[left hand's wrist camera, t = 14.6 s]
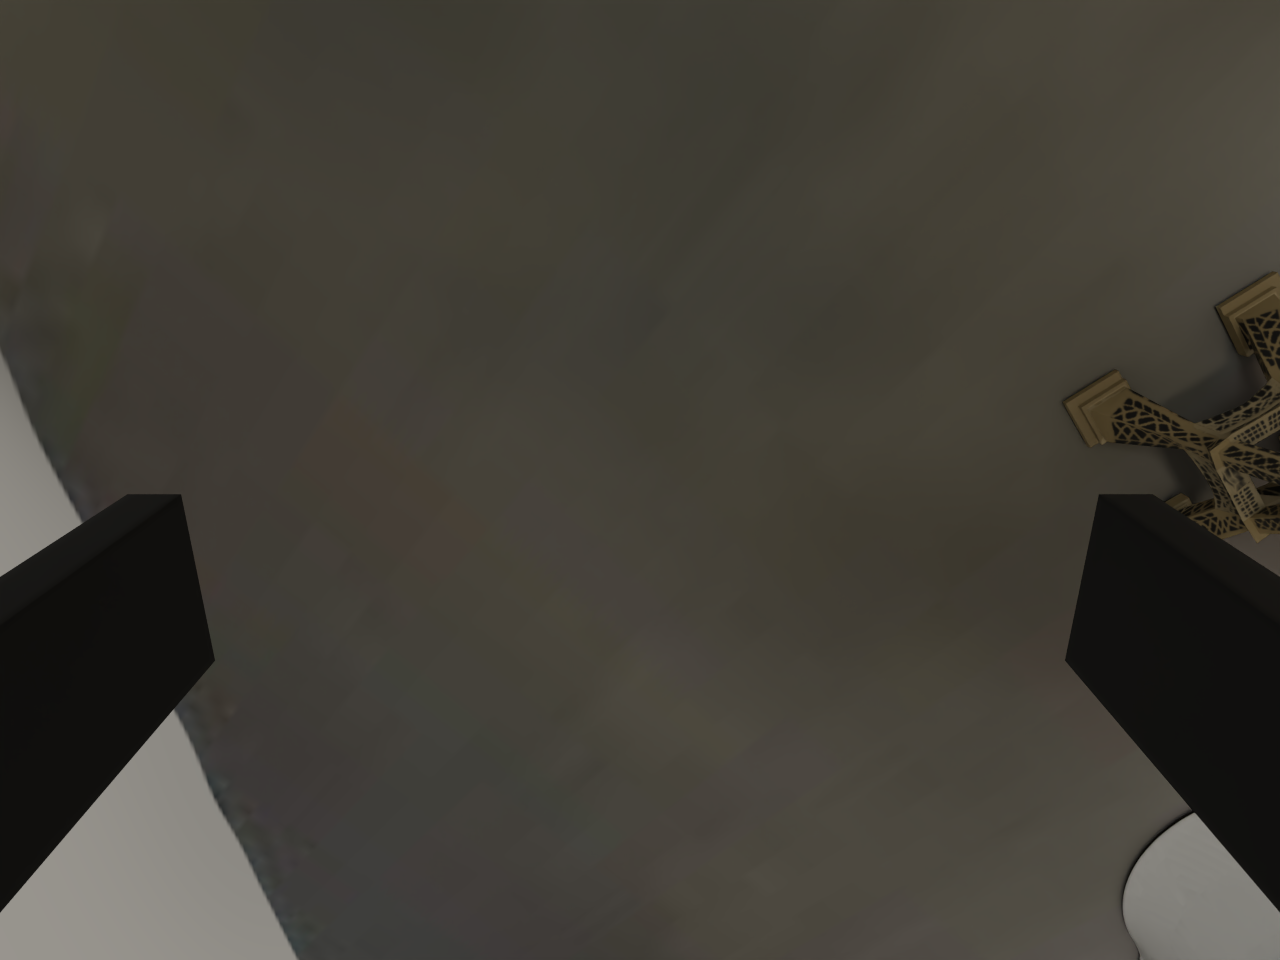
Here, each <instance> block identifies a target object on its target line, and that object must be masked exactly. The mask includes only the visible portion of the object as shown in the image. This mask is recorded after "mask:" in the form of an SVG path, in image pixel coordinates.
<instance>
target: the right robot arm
mask: <svg viewBox="0 0 1280 960" xmlns="http://www.w3.org/2000/svg"><path fill="white" fill-rule="evenodd" d="M1123 917H1124V921H1125V925H1126V928H1127V930H1128V932H1129V934H1130V936H1131V938H1132V939H1133V941H1134V943H1135V944H1136V946H1137V948H1138V950H1139V954H1140V960H1280V912H1279V911H1278V910H1277V909H1276V907H1275V906H1274V905H1273V904H1272V903H1271V902H1270V900H1269V899H1268V898H1267V897H1266V896H1265V895H1264V893H1263V892H1262V891H1261V890H1260V889H1259V888H1258V886H1257V885H1256V884H1255V883H1254V882H1253V880H1252V879H1251V878H1250V877H1249V876H1248V875H1247V873H1246V872H1245V871H1244V870H1243V869H1242V868H1241V866H1240V865H1239V864H1238V863H1237V862H1236V861H1235V859H1234V858H1233V857H1232V856H1231V855H1230V853H1229V852H1228V851H1227V850H1226V849H1225V848H1224V846H1223V845H1222V844H1221V843H1220V842H1219V841H1218V839H1217V838H1216V837H1215V836H1214V835H1213V834H1212V832H1211V831H1210V830H1209V829H1208V828H1207V827H1206V825H1205V824H1204V823H1203V822H1202V821H1201V819H1200V818H1199V817H1198V816H1197V815H1196V814H1195V813H1193V814H1191V815H1189V816H1187V817H1185V818H1184V819H1182V820H1181V821H1179V822H1177V823H1176V824H1175V825H1173V826H1172V827H1170V828H1169V829H1168V830H1167V831H1165V832H1164V833H1163V834H1162V835H1161V836H1159V837H1158V838H1157V839H1156V840H1155V841H1154V842H1153V843H1152V844H1151V845H1150V846H1149V847H1148V848H1147V850H1146V851H1145V852H1144V853H1143V854H1142V856H1141V857H1140V858H1139V860H1138V861H1137V863H1136V864H1135V866H1134V868H1133V870H1132V872H1131V874H1130V876H1129V878H1128V881H1127V883H1126V887H1125V890H1124V895H1123Z"/></svg>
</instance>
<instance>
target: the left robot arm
mask: <svg viewBox="0 0 1280 960" xmlns="http://www.w3.org/2000/svg"><path fill="white" fill-rule="evenodd" d="M214 661H215V658H214V654H213V649H212V644H211V639H210V634H209V629H208V624H207V619H206V614H205V610H204V605H203V600H202V595H201V590H200V585H199V580H198V575H197V570H196V565H195V561H194V556H193V551H192V546H191V541H190V536H189V531H188V526H187V521H186V517H185V512H184V507H183V502H182V497H181V494H127V495H126V496H124V497H123V498H121V499H120V500H118V501H117V502H115V503H113V504H112V505H110V506H109V507H107V508H106V509H104V510H103V511H101V512H100V513H98V514H96V515H95V516H93V517H92V518H90V519H89V520H87V521H86V522H84V523H83V524H81V525H80V526H78V527H76V528H75V529H73V530H72V531H70V532H69V533H67V534H66V535H64V536H63V537H61V538H60V539H58V540H56V541H55V542H53V543H52V544H50V545H49V546H47V547H46V548H44V549H43V550H41V551H40V552H38V553H37V554H35V555H33V556H32V557H30V558H29V559H27V560H26V561H24V562H23V563H21V564H19V565H18V566H16V567H15V568H13V569H12V570H10V571H9V572H7V573H6V574H4V575H2V576H1V577H0V912H1V911H2V910H3V909H4V907H5V906H6V905H7V904H8V903H9V902H10V900H11V899H12V898H13V897H14V896H15V895H16V893H17V892H18V891H19V890H20V889H21V888H22V886H23V885H24V884H25V883H26V882H27V880H28V879H29V878H30V877H31V876H32V875H33V873H34V872H35V871H36V870H37V869H38V868H39V866H40V865H41V864H42V863H43V862H44V861H45V859H46V858H47V857H48V856H49V855H50V853H51V852H52V851H53V850H54V849H55V848H56V846H57V845H58V844H59V843H60V842H61V841H62V839H63V838H64V837H65V836H66V835H67V834H68V832H69V831H70V830H71V829H72V828H73V827H74V825H75V824H76V823H77V822H78V821H79V819H80V818H81V817H82V816H83V815H84V814H85V812H86V811H87V810H88V809H89V808H90V807H91V805H92V804H93V803H94V802H95V801H96V799H97V798H98V797H99V796H100V795H101V794H102V792H103V791H104V790H105V789H106V788H107V787H108V785H109V784H110V783H111V782H112V781H113V780H114V778H115V777H116V776H117V775H118V774H119V773H120V771H121V770H122V769H123V768H124V767H125V765H126V764H127V763H128V762H129V761H130V760H131V758H132V757H133V756H134V755H135V754H136V753H137V751H138V750H139V749H140V748H141V747H142V746H143V744H144V743H145V742H146V741H147V740H148V738H149V737H150V736H151V735H152V734H153V733H154V731H155V730H156V729H157V728H158V727H159V726H160V724H161V723H162V722H163V721H164V720H165V719H166V717H167V716H168V715H169V714H170V713H171V712H172V710H173V709H174V708H175V707H176V706H177V704H178V703H179V702H180V701H181V700H182V699H183V697H184V696H185V695H186V694H187V693H188V692H189V690H190V689H191V688H192V687H193V686H194V685H195V683H196V682H197V681H198V680H199V679H200V677H201V676H202V675H203V674H204V673H205V672H206V670H207V669H208V668H209V667H210V666H211V665H212V663H213V662H214ZM1065 661H1066V662H1067V663H1068V665H1069V666H1070V667H1071V668H1072V669H1073V670H1074V672H1075V673H1076V674H1077V675H1078V676H1079V677H1080V679H1081V680H1082V681H1083V682H1084V683H1085V685H1086V686H1087V687H1088V688H1089V689H1090V690H1091V692H1092V693H1093V694H1094V695H1095V696H1096V697H1097V699H1098V700H1099V701H1100V702H1101V703H1102V704H1103V706H1104V707H1105V708H1106V709H1107V710H1108V712H1109V713H1110V714H1111V715H1112V716H1113V717H1114V719H1115V720H1116V721H1117V722H1118V723H1119V724H1120V726H1121V727H1122V728H1123V729H1124V730H1125V731H1126V733H1127V734H1128V735H1129V736H1130V737H1131V739H1132V740H1133V741H1134V742H1135V743H1136V744H1137V746H1138V747H1139V748H1140V749H1141V750H1142V751H1143V753H1144V754H1145V755H1146V756H1147V757H1148V758H1149V760H1150V761H1151V762H1152V763H1153V764H1154V765H1155V767H1156V768H1157V769H1158V770H1159V771H1160V773H1161V774H1162V775H1163V776H1164V777H1165V778H1166V780H1167V781H1168V782H1169V783H1170V784H1171V785H1172V787H1173V788H1174V789H1175V790H1176V791H1177V792H1178V794H1179V795H1180V796H1181V797H1182V798H1183V800H1184V801H1185V802H1186V803H1187V804H1188V805H1189V807H1190V808H1191V809H1192V810H1193V811H1194V812H1195V814H1196V815H1197V816H1198V817H1199V818H1200V819H1201V821H1202V822H1203V823H1204V824H1205V825H1206V827H1207V828H1208V829H1209V830H1210V831H1211V832H1212V834H1213V835H1214V836H1215V837H1216V838H1217V839H1218V841H1219V842H1220V843H1221V844H1222V845H1223V846H1224V848H1225V849H1226V850H1227V851H1228V852H1229V853H1230V855H1231V856H1232V857H1233V858H1234V859H1235V861H1236V862H1237V863H1238V864H1239V865H1240V866H1241V868H1242V869H1243V870H1244V871H1245V872H1246V873H1247V875H1248V876H1249V877H1250V878H1251V879H1252V880H1253V882H1254V883H1255V884H1256V885H1257V886H1258V888H1259V889H1260V890H1261V891H1262V892H1263V893H1264V895H1265V896H1266V897H1267V898H1268V899H1269V900H1270V902H1271V903H1272V904H1273V905H1274V906H1275V907H1276V909H1277V910H1278V911H1279V912H1280V577H1279V576H1278V575H1276V574H1274V573H1273V572H1271V571H1270V570H1268V569H1267V568H1265V567H1264V566H1262V565H1261V564H1259V563H1257V562H1256V561H1254V560H1253V559H1251V558H1250V557H1248V556H1247V555H1245V554H1244V553H1242V552H1241V551H1239V550H1237V549H1236V548H1234V547H1233V546H1231V545H1230V544H1228V543H1227V542H1225V541H1224V540H1222V539H1221V538H1219V537H1217V536H1216V535H1214V534H1213V533H1211V532H1210V531H1208V530H1207V529H1205V528H1204V527H1202V526H1200V525H1199V524H1197V523H1196V522H1194V521H1193V520H1191V519H1190V518H1188V517H1187V516H1185V515H1184V514H1182V513H1180V512H1179V511H1177V510H1176V509H1174V508H1173V507H1171V506H1170V505H1168V504H1167V503H1165V502H1163V501H1162V500H1160V499H1159V498H1157V497H1156V496H1154V495H1153V494H1099V497H1098V502H1097V507H1096V512H1095V517H1094V521H1093V526H1092V531H1091V536H1090V541H1089V546H1088V551H1087V556H1086V561H1085V565H1084V570H1083V575H1082V580H1081V585H1080V590H1079V595H1078V600H1077V605H1076V610H1075V614H1074V619H1073V624H1072V629H1071V634H1070V639H1069V644H1068V649H1067V654H1066V658H1065Z"/></svg>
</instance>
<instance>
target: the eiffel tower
mask: <svg viewBox="0 0 1280 960" xmlns="http://www.w3.org/2000/svg"><path fill="white" fill-rule="evenodd" d="M1216 308H1217V310H1218V312H1219V315H1220V317H1221V319H1222V321H1223V323H1224V325H1225V327H1226V329H1227V331H1228V333H1229V335H1230V337H1231V340H1232V342H1233V344H1234V346H1235V348H1236V350H1237V352H1238V354H1240V355H1243V356H1246V357H1249V356H1250V355H1252V354H1254V353H1255V355H1256V358H1257V360H1258V362H1259V364H1260V366H1261V369H1262V371H1263V373H1264V375H1265V378H1266V380H1267V382H1268V383H1267V384H1266V385H1265V386H1264V387H1263V388H1262V389H1261V390H1260V391H1259V392H1257V393H1256V394H1255V395H1254V396H1253V397H1252V398H1251V399H1250V400H1249V401H1247V402H1246V403H1245V404H1243V405H1242V406H1239V407H1237V408H1235V409H1233V410H1231V411H1228V412H1225V413H1223V414H1220V415H1218V416H1215V417H1212V418H1210V419H1207V420H1204V421H1201V422H1198V423H1195V424H1194V423H1192V422H1190V421H1188V420H1187V419H1185V418H1183V417H1181V416H1179V415H1177V414H1175V413H1174V412H1172V411H1170V410H1168V409H1166V408H1164V407H1162V406H1160V405H1159V404H1157V403H1155V402H1153V401H1151V400H1149V399H1147V398H1145V397H1144V396H1142V395H1140V394H1138V393H1136V392H1134V391H1132V390H1131V388H1130V386H1129V384H1128V383H1127V381H1126V380H1125V379H1123V378H1122V377H1121V375H1120V373H1119V371H1117V370H1113V371H1112V372H1110V373H1108V374H1107V375H1105V376H1104V377H1102V378H1100V379H1099V380H1097V381H1096V382H1094V383H1092V384H1091V385H1089V386H1087V387H1086V388H1084V389H1083V390H1081V391H1079V392H1078V393H1076V394H1075V395H1073V396H1071V397H1070V398H1068V399H1067V400H1065V401H1063V404H1064V406H1065V407H1066V409H1067V411H1068V413H1069V414H1070V416H1071V418H1072V420H1073V422H1074V423H1075V425H1076V427H1077V429H1078V430H1079V432H1080V434H1081V436H1082V437H1083V439H1084V441H1085V443H1086V445H1087V446H1088V447H1090V448H1091V447H1093V446H1094V445H1096V444H1098V443H1100V444H1101V445H1103V444H1104V443H1106V442H1113V443H1123V444H1134V445H1144V446H1155V447H1165V448H1176V449H1184V450H1185V451H1186V453H1187V454H1188V455H1189V456H1190V457H1191V459H1192V460H1193V461H1194V463H1195V464H1196V465H1197V467H1198V468H1199V469H1200V471H1201V472H1202V474H1203V475H1204V477H1205V478H1206V480H1207V482H1208V483H1209V485H1210V487H1211V489H1212V492H1213V495H1214V498H1213V499H1210V500H1206V501H1203V502H1199V503H1196V504H1192V503H1191V501H1190V499H1189V498H1188V497H1187V496H1185V495H1184V494H1182V493H1180V494H1178V495H1177V496H1175V497H1173V498H1171V499H1170V500H1168V501H1166V502H1165V503H1167V504H1168V505H1170V506H1171V507H1173V508H1174V509H1176V510H1177V511H1179V512H1180V513H1182V514H1184V515H1185V516H1187V517H1188V518H1190V519H1191V520H1193V521H1194V522H1196V523H1197V524H1199V525H1200V526H1202V527H1204V528H1205V529H1207V530H1208V531H1210V532H1211V533H1213V534H1214V535H1216V536H1217V537H1219V538H1221V539H1225V538H1228V537H1231V536H1234V535H1237V534H1240V533H1243V532H1246V531H1249V532H1250V533H1251V535H1252V536H1253V538H1254V539H1255V541H1256V543H1258V542H1260V541H1261V540H1262V539H1264V538H1265V537H1267V536H1268V535H1269V534H1280V453H1278V452H1274V451H1271V450H1268V449H1265V448H1261V447H1258V446H1255V445H1254V444H1256V443H1258V442H1260V441H1261V440H1263V439H1265V438H1266V437H1268V436H1270V435H1271V434H1273V433H1275V432H1277V431H1278V430H1280V277H1279V274H1278V272H1271V273H1269V274H1268V275H1266V276H1265V277H1263V278H1261V279H1260V280H1258V281H1257V282H1255V283H1253V284H1252V285H1250V286H1248V287H1247V288H1245V289H1244V290H1242V291H1240V292H1239V293H1237V294H1236V295H1234V296H1232V297H1231V298H1229V299H1228V300H1226V301H1224V302H1223V303H1221V304H1220V305H1218V306H1216ZM1278 437H1279V440H1280V436H1278ZM1250 475H1251V476H1254V477H1257V478H1260V479H1263V480H1266V481H1268V482H1269V483H1268V484H1266V485H1264V486H1261V487H1258V488H1256V487H1255V485H1254V483H1253V482H1252V480H1251V478H1250Z"/></svg>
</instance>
